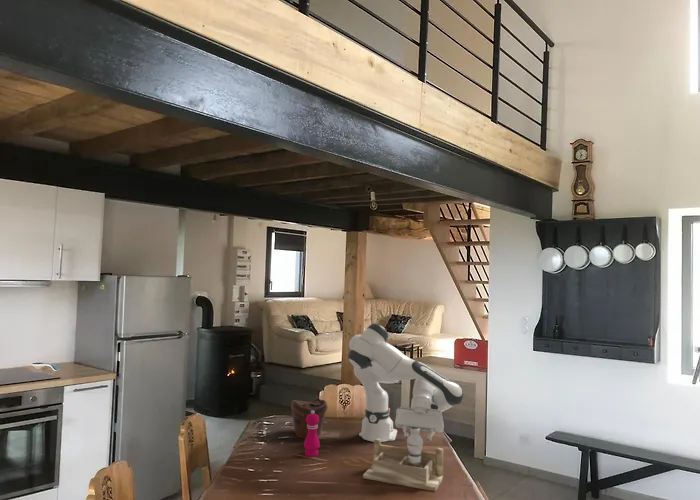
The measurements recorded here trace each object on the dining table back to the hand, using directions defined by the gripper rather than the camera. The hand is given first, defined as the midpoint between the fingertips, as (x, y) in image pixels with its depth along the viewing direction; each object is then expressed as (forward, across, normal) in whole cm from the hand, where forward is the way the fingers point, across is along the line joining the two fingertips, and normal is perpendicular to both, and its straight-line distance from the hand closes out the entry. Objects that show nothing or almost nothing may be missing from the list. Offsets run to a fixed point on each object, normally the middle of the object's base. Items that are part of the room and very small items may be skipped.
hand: (417, 438), depth 221 cm
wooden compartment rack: (+13, -5, +10) cm, 17 cm away
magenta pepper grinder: (+2, -50, +21) cm, 54 cm away
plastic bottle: (+13, 0, +8) cm, 15 cm away
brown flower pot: (-16, -60, +40) cm, 74 cm away
